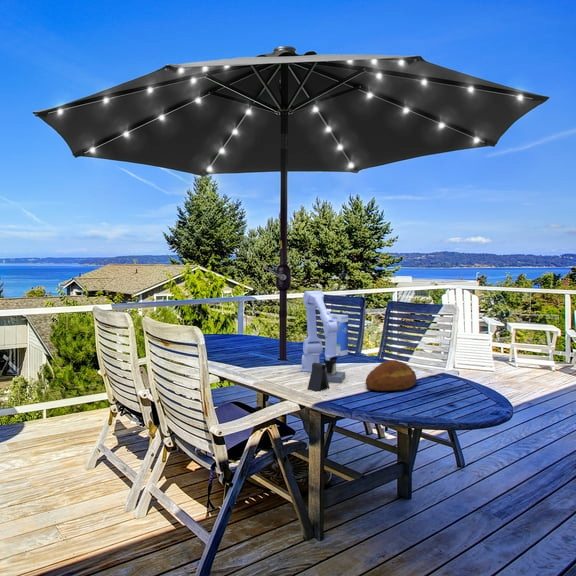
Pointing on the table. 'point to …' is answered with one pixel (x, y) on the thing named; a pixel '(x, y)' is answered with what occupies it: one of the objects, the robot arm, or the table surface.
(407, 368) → the bread
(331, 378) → the socket block
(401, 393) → the table surface
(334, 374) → the square peg
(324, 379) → the phone stand
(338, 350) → the string lights box
